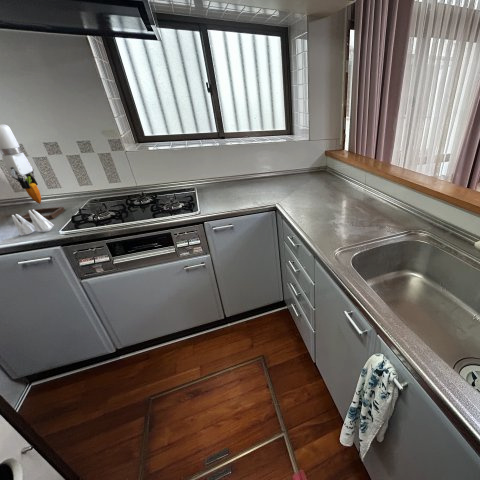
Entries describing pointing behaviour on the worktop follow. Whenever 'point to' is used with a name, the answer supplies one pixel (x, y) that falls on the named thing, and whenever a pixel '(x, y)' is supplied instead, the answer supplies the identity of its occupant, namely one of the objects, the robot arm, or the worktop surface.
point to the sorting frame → (55, 211)
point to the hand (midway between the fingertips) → (30, 186)
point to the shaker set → (38, 221)
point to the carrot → (33, 191)
